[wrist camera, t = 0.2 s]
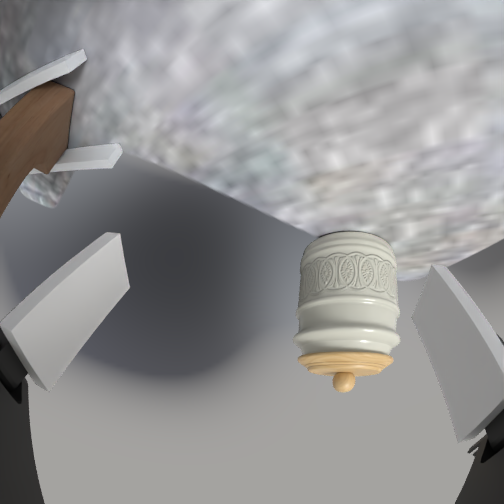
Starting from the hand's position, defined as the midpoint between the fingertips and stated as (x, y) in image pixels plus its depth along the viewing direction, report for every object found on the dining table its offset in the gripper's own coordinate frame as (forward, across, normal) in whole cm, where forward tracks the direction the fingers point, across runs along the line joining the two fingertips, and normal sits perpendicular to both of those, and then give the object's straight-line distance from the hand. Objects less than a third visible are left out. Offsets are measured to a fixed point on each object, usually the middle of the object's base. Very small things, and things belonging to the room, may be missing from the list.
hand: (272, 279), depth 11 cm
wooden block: (+13, -24, +8) cm, 28 cm away
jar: (+24, +10, -10) cm, 28 cm away
